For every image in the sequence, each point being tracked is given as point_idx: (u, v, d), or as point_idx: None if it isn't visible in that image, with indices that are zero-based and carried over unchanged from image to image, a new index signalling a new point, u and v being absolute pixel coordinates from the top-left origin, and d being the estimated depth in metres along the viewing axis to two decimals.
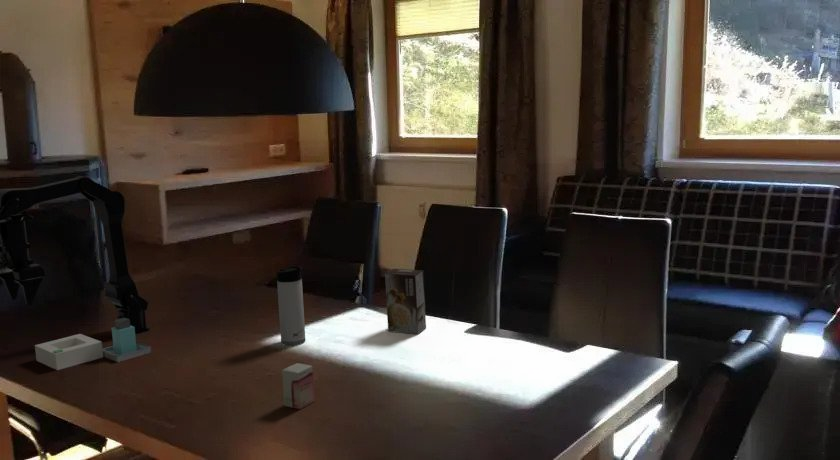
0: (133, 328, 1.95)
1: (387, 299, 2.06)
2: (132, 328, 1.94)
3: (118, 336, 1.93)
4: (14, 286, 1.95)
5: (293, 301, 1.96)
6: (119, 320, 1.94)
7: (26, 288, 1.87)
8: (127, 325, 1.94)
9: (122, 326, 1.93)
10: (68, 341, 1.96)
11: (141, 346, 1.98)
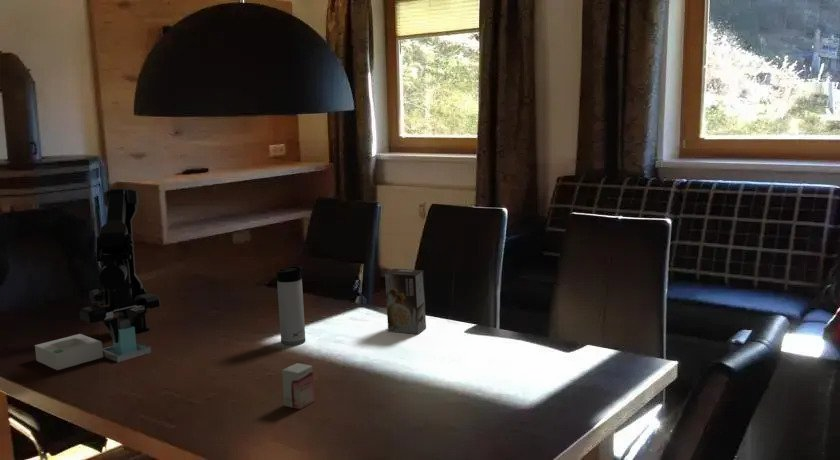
0: (133, 328, 1.95)
1: (387, 299, 2.06)
2: (132, 328, 1.94)
3: (118, 336, 1.93)
4: None
5: (293, 301, 1.96)
6: (119, 320, 1.94)
7: (107, 326, 1.92)
8: (127, 325, 1.94)
9: (122, 326, 1.93)
10: (68, 341, 1.96)
11: (141, 346, 1.98)
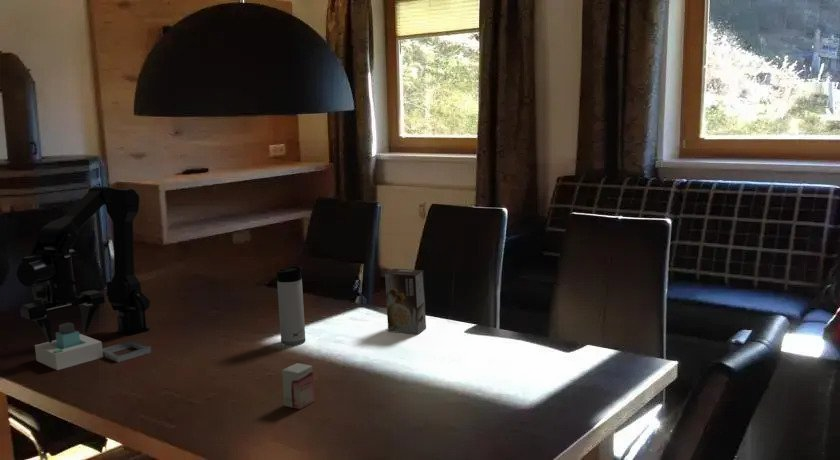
0: (77, 333, 1.92)
1: (387, 299, 2.06)
2: (76, 333, 1.92)
3: (62, 341, 1.90)
4: (84, 321, 1.95)
5: (293, 301, 1.96)
6: (63, 325, 1.91)
7: (40, 325, 1.88)
8: (71, 330, 1.92)
9: (66, 331, 1.91)
10: None
11: (141, 346, 1.98)
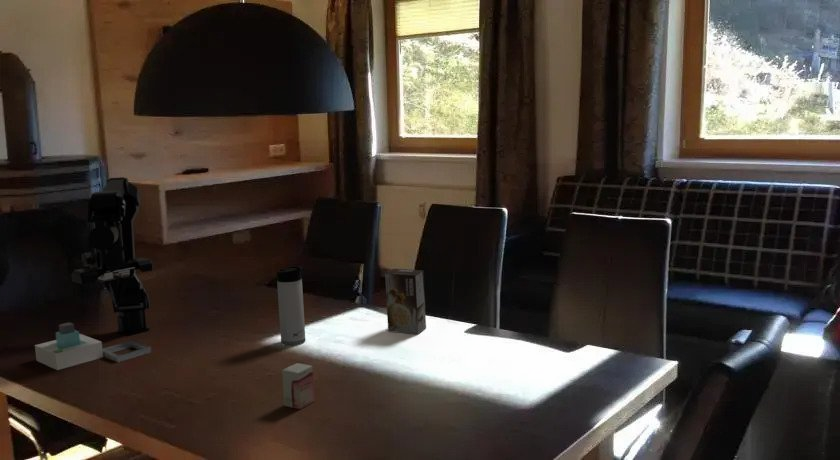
0: (77, 333, 1.92)
1: (387, 299, 2.06)
2: (76, 333, 1.92)
3: (62, 341, 1.90)
4: None
5: (293, 301, 1.96)
6: (63, 325, 1.91)
7: (107, 287, 1.92)
8: (71, 330, 1.92)
9: (66, 331, 1.91)
10: None
11: (141, 346, 1.98)
